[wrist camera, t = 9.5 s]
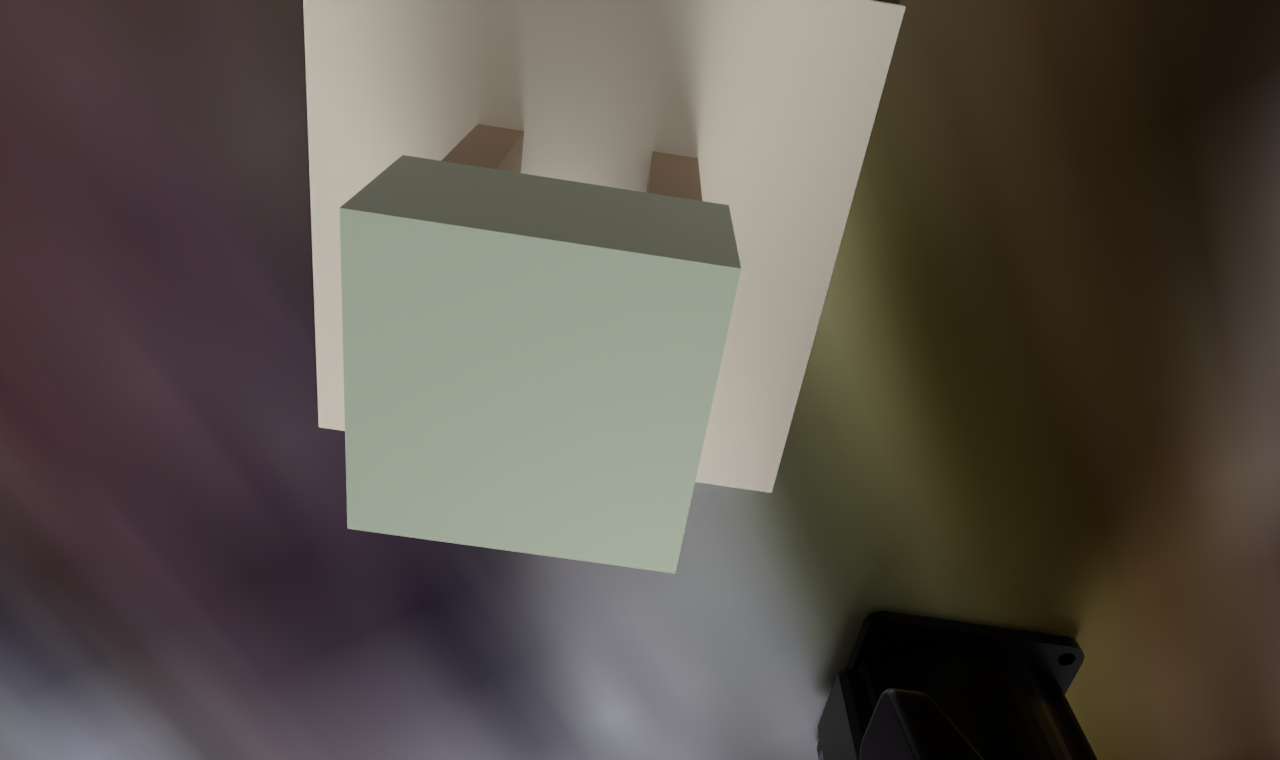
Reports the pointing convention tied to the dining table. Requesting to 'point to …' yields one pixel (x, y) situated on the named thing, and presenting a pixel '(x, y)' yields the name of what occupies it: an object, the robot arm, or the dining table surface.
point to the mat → (622, 147)
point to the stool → (531, 353)
